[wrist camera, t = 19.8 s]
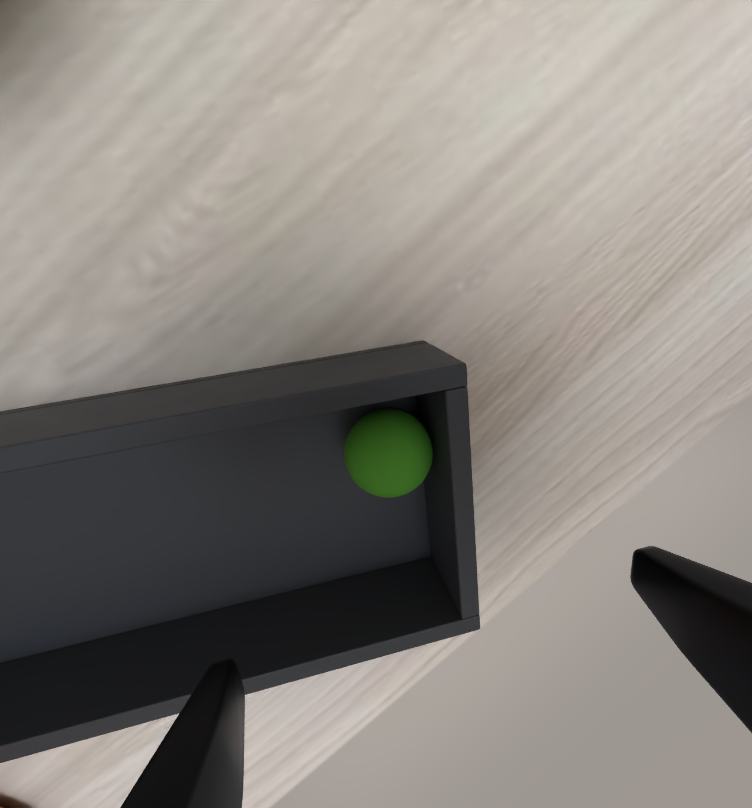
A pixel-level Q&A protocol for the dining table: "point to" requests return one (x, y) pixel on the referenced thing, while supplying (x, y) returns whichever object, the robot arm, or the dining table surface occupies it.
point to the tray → (222, 539)
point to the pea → (388, 453)
